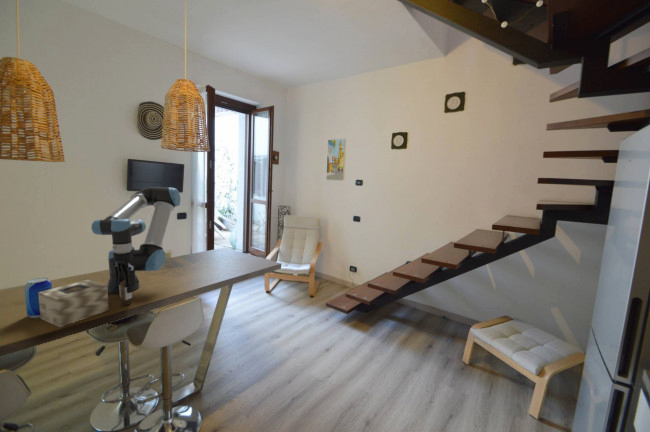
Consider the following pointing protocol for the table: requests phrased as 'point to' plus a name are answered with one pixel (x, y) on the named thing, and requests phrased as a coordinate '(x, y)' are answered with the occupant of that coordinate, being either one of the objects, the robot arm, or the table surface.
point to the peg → (123, 294)
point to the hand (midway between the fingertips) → (126, 297)
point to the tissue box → (73, 302)
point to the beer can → (35, 295)
